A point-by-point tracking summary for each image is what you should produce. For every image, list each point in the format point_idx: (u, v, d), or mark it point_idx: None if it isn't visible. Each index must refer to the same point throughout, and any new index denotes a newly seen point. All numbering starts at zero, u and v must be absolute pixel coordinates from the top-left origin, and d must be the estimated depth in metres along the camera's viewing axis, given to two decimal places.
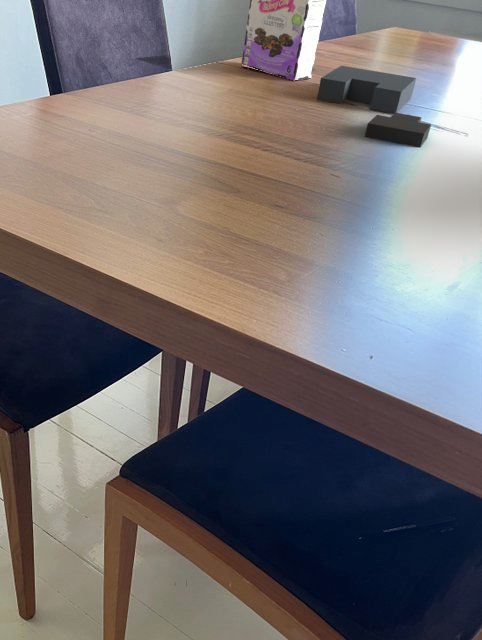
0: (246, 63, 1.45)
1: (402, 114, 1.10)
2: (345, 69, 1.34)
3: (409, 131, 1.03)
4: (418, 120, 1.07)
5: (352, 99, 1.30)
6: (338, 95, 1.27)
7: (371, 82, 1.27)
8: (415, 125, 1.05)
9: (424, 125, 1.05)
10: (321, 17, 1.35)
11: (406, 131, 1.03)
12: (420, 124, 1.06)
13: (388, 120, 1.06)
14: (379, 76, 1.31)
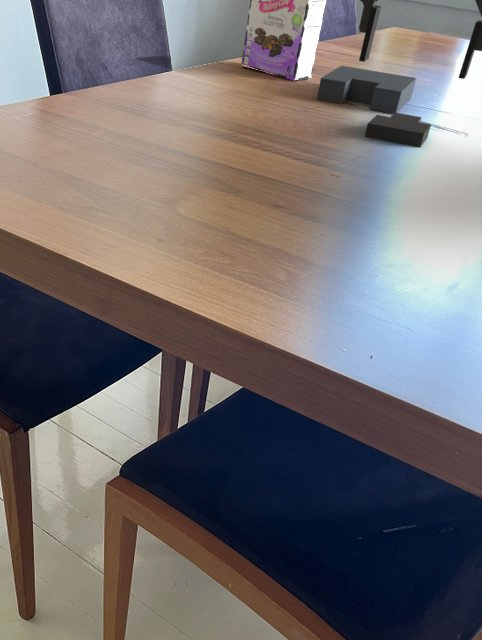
0: (246, 63, 1.45)
1: (402, 114, 1.10)
2: (345, 69, 1.34)
3: (409, 131, 1.03)
4: (418, 120, 1.07)
5: (352, 99, 1.30)
6: (338, 95, 1.27)
7: (371, 82, 1.27)
8: (415, 125, 1.05)
9: (424, 125, 1.05)
10: (321, 17, 1.35)
11: (406, 131, 1.03)
12: (420, 124, 1.06)
13: (388, 120, 1.06)
14: (379, 76, 1.31)
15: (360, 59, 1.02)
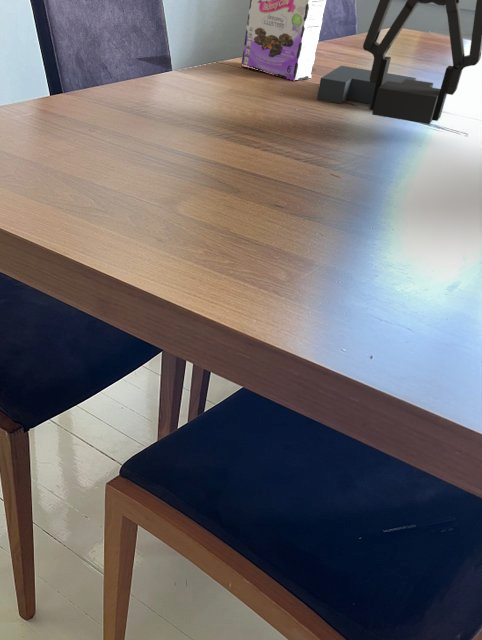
0: (246, 63, 1.45)
1: (413, 80, 1.07)
2: (345, 69, 1.34)
3: (421, 95, 0.99)
4: (430, 85, 1.04)
5: (352, 99, 1.30)
6: (338, 95, 1.27)
7: (371, 82, 1.27)
8: (427, 90, 1.02)
9: (436, 90, 1.02)
10: (321, 17, 1.35)
11: (418, 95, 1.00)
12: (432, 89, 1.03)
13: (399, 85, 1.03)
14: None
15: (371, 108, 1.05)
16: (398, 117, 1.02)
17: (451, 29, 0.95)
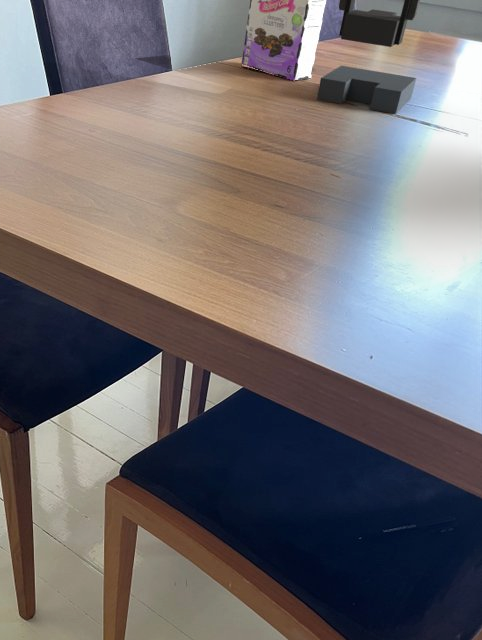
0: (246, 63, 1.45)
1: (379, 10, 1.18)
2: (345, 69, 1.34)
3: (384, 19, 1.11)
4: (393, 14, 1.16)
5: (352, 99, 1.30)
6: (338, 95, 1.27)
7: (371, 82, 1.27)
8: (390, 16, 1.13)
9: (398, 17, 1.14)
10: (321, 17, 1.35)
11: (381, 20, 1.11)
12: (395, 16, 1.14)
13: (365, 13, 1.15)
14: (379, 76, 1.31)
15: (340, 34, 1.16)
16: (363, 41, 1.14)
17: None
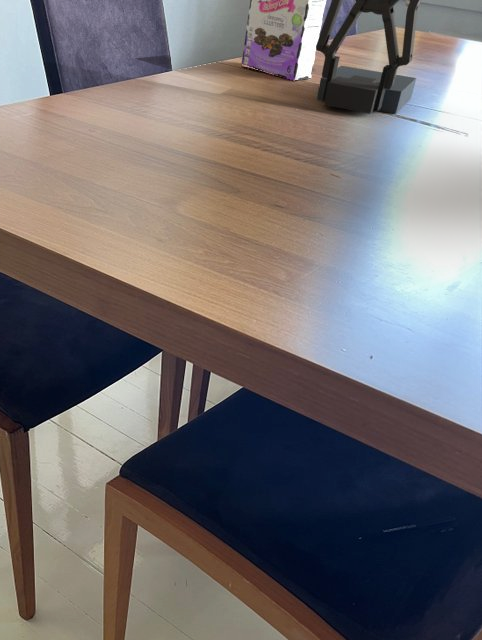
0: (246, 63, 1.45)
1: (360, 76, 1.26)
2: (345, 69, 1.34)
3: (363, 89, 1.19)
4: (373, 81, 1.24)
5: None
6: None
7: None
8: (369, 84, 1.21)
9: (377, 84, 1.22)
10: (321, 17, 1.35)
11: (361, 89, 1.19)
12: (374, 84, 1.22)
13: (346, 80, 1.23)
14: (379, 76, 1.31)
15: (323, 99, 1.24)
16: (345, 107, 1.22)
17: (387, 34, 1.15)
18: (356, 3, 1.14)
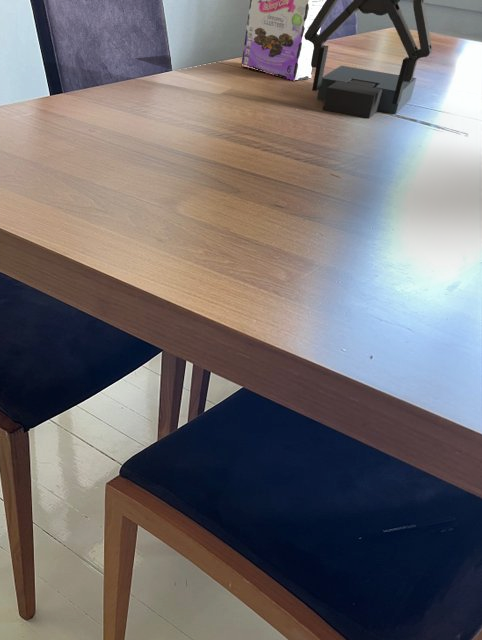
0: (246, 63, 1.45)
1: (359, 81, 1.26)
2: (345, 69, 1.34)
3: (362, 93, 1.19)
4: (372, 85, 1.24)
5: None
6: None
7: (371, 82, 1.27)
8: (368, 89, 1.22)
9: (376, 89, 1.22)
10: None
11: (359, 94, 1.19)
12: (373, 88, 1.22)
13: (345, 85, 1.23)
14: (379, 76, 1.31)
15: (313, 89, 1.24)
16: (344, 112, 1.22)
17: (398, 30, 1.14)
18: (357, 4, 1.14)
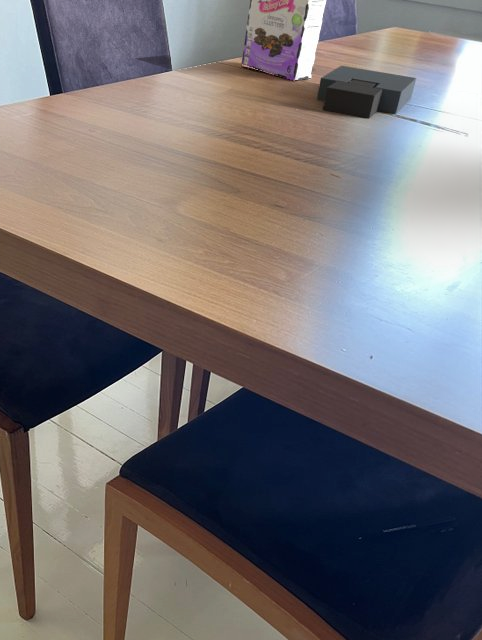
0: (246, 63, 1.45)
1: (359, 81, 1.26)
2: (345, 69, 1.34)
3: (362, 93, 1.19)
4: (372, 85, 1.24)
5: None
6: None
7: (371, 82, 1.27)
8: (368, 89, 1.22)
9: (376, 89, 1.22)
10: (321, 17, 1.35)
11: (359, 94, 1.19)
12: (373, 88, 1.22)
13: (345, 85, 1.23)
14: (379, 76, 1.31)
15: None
16: (344, 112, 1.22)
17: None
18: None
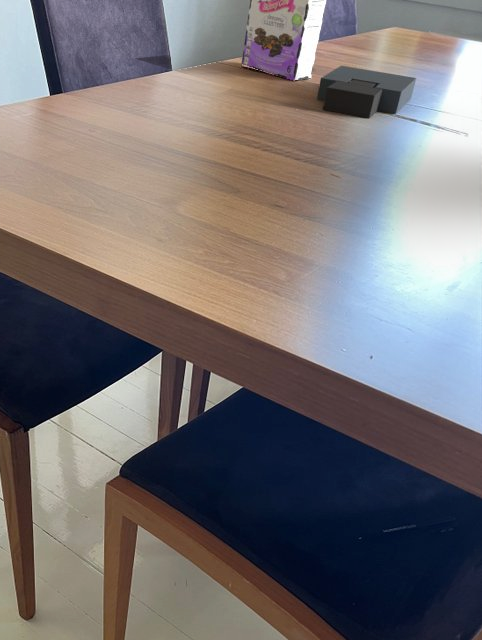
0: (246, 63, 1.45)
1: (359, 81, 1.26)
2: (345, 69, 1.34)
3: (362, 93, 1.19)
4: (372, 85, 1.24)
5: None
6: None
7: (371, 82, 1.27)
8: (368, 89, 1.22)
9: (376, 89, 1.22)
10: (321, 17, 1.35)
11: (359, 94, 1.19)
12: (373, 88, 1.22)
13: (345, 85, 1.23)
14: (379, 76, 1.31)
15: None
16: (344, 112, 1.22)
17: None
18: None
